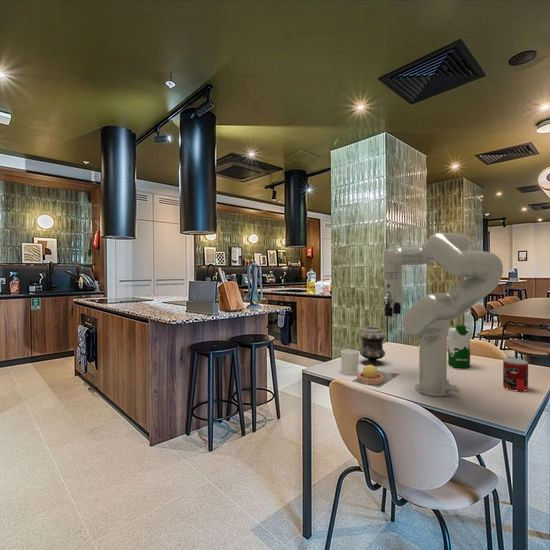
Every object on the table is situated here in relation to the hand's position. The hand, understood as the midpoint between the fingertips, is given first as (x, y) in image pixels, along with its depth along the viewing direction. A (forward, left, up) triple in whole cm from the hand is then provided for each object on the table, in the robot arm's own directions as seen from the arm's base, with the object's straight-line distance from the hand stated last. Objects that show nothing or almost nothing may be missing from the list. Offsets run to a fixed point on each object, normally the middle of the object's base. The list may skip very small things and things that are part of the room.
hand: (392, 315), depth 155 cm
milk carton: (-20, -30, -26) cm, 45 cm away
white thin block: (+3, +10, -26) cm, 28 cm away
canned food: (-44, -11, -26) cm, 53 cm away
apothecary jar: (+14, -9, -26) cm, 31 cm away
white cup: (+15, +12, -26) cm, 33 cm away
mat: (+3, +11, -26) cm, 29 cm away
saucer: (+3, +17, -26) cm, 31 cm away
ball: (+3, +17, -25) cm, 30 cm away
